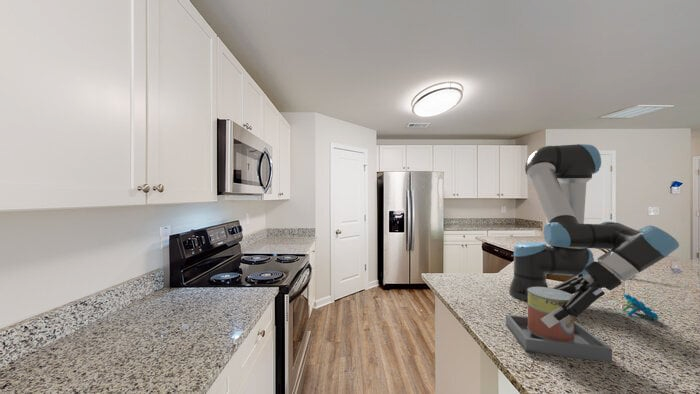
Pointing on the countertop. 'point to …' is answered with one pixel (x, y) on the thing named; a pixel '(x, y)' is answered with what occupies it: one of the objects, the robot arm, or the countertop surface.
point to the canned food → (543, 304)
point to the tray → (559, 342)
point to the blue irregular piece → (638, 307)
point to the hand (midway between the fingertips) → (540, 315)
